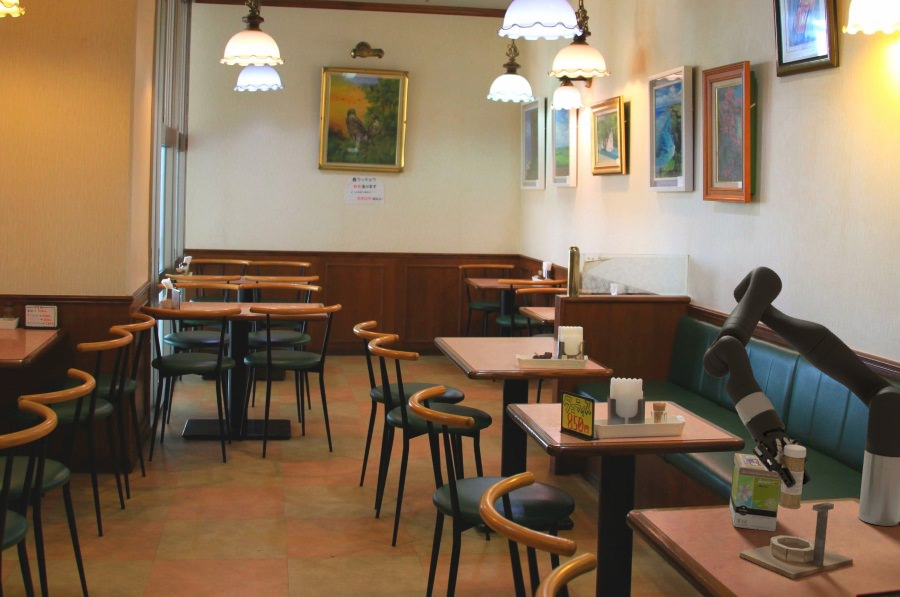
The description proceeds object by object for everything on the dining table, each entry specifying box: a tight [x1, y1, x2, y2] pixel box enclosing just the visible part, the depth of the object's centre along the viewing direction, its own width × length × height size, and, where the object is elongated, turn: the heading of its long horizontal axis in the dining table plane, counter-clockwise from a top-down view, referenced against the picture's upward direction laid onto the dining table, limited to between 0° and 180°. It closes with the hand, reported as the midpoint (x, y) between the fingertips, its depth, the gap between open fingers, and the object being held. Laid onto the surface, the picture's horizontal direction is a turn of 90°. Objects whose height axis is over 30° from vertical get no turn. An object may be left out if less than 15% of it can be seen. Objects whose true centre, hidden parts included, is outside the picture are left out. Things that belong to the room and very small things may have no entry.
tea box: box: [729, 452, 782, 532], centre depth 244 cm, size 15×10×15 cm, turn 168°
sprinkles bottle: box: [778, 444, 807, 510], centre depth 218 cm, size 5×5×14 cm
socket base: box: [739, 501, 854, 580], centre depth 218 cm, size 20×14×14 cm
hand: (799, 484), depth 217 cm, fingers closed on sprinkles bottle, 4 cm apart
